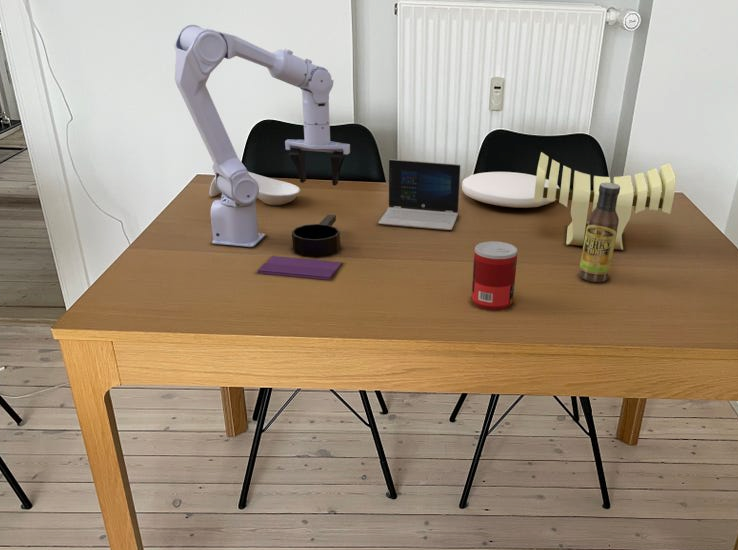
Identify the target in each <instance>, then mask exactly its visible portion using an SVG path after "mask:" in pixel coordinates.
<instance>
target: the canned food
mask: <svg viewBox="0 0 738 550" xmlns="http://www.w3.org/2000/svg"><path fill="white" fill-rule="evenodd" d="M473 252H474V254H473V266H472V267H473V269H472V270H473V271H472V285H471V286H472V287H471V300H472V303H473V304H474V305H475V306H476V307H478V308H480V309H483V310H489V311H501V310H505V309H507V308H509V307H511V305H512V303H513V301H514V294H515V283H516V274H517V263H518V248H517V247H516V246H515V245H513V244H510V243H507V242H503V241H483V242H480V243H478V244H476V245H475V247H474V251H473Z"/></svg>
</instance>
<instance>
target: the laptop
mask: <svg viewBox="0 0 738 550" xmlns="http://www.w3.org/2000/svg"><path fill="white" fill-rule="evenodd" d="M460 183H461V164H456V163H446V162H445V163H443V162H431V161H429V162H428V161H417V160H407V159H405V160H404V159H393V158H390V159H388V208H387V209H386V211H385V212H384V214H383V215H382V217H381V218H380V219H379V220H378V222H377V224H379V225H383V226H391V227H402V228H403V227H404V228H414V229H416V228H417V229H427V230H436V231H437V230H439V231H452V230H453V228H454V226H455V223H456V221H457V219H458V217H459V203H460V187H461V186H460V185H461V184H460Z"/></svg>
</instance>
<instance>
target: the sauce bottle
mask: <svg viewBox="0 0 738 550" xmlns="http://www.w3.org/2000/svg"><path fill="white" fill-rule="evenodd" d="M619 192H620V186H619V185H618V184H615V183H613V182H610V183H601V184H600V186H599V197H598V202H597V207H596V208H595V209H594V210H593V212H592V213H591V212H590V214H589V216H588V218H587V222H588V226H587V228H586V234H585V235H584V242H583V246H582V250H581V251H582V252H581V258H580V263H579V271H578V275H579V277H580V279H582V280H585V281H588V282H591V283H603V282H606V281H607V280H608V279H609V273H610V272H611V271H610V270H611V266H612V261H613V255H614V250H615V249H614V245H615V240H616V235H617V227H618V223H619V218H618V215H617V213H616V210H615V209H616V203H617V197H618V194H619Z"/></svg>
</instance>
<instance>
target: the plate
mask: <svg viewBox="0 0 738 550" xmlns="http://www.w3.org/2000/svg"><path fill="white" fill-rule="evenodd" d="M536 176H537V175H534V174H529V173H524V172H523V173H522V172H516V171H515V172H512V171H488V172H479V173H475V174H471V175H469V176H467V177H465V178H464V179H463V180H462V182H461V190H462V193H463V194H464V195H465V196H466V197H468V198H470V199H472V200H475V201H477V202H480V203H484V204H489V205H494V206H500V207H506V208H518V209H519V208H523V209H524V208H525V209H527V208H538V207H542V206H545V205H549V204H550V203H553V202H554V201H547V198H543V200H542V201H536V202H534V195H535V185H536ZM548 184H549V178H545V186H544V187H547V188H548ZM557 188H558V189H561V187H560V186H559V185H558V184H557ZM556 200H557V199H555V201H556Z"/></svg>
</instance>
